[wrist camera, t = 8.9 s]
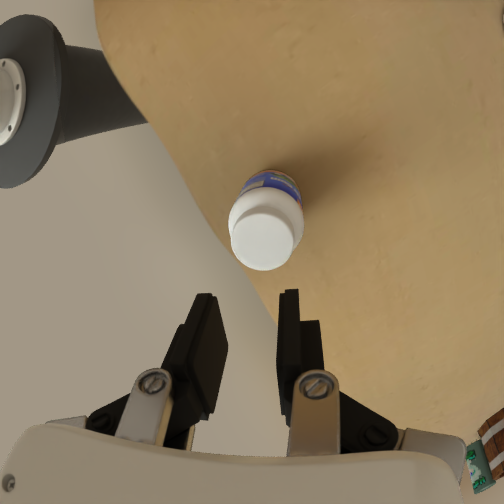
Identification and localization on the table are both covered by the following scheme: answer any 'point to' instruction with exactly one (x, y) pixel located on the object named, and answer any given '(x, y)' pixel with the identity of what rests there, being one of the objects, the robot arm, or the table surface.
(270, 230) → the pill bottle
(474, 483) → the can
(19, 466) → the robot arm
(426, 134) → the table surface
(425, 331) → the table surface
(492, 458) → the mug
